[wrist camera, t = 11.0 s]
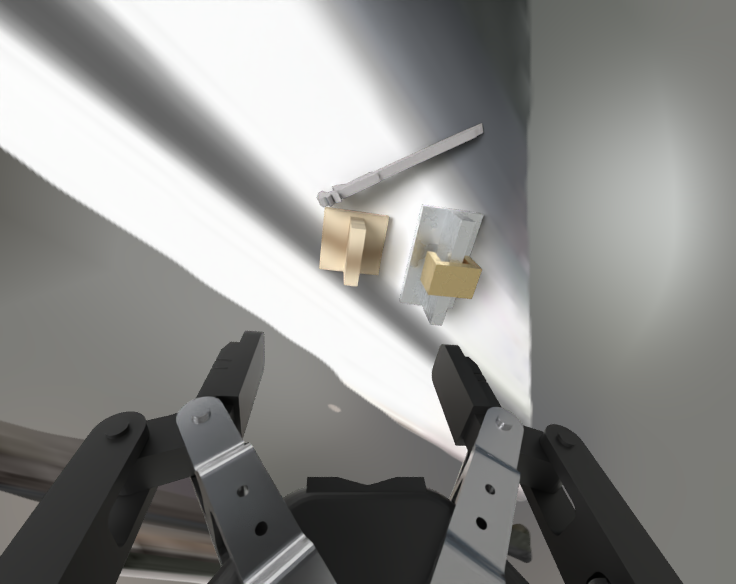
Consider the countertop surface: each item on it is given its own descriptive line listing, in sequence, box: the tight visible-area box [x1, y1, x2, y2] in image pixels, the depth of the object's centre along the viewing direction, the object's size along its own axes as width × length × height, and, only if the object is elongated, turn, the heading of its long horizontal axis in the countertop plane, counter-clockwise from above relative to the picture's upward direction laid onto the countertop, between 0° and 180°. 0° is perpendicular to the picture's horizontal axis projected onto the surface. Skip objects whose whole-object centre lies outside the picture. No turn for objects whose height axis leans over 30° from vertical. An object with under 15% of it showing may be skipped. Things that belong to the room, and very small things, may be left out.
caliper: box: [317, 123, 483, 207], centre depth 33 cm, size 20×1×6 cm, turn 111°
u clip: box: [420, 251, 482, 299], centre depth 38 cm, size 4×6×4 cm
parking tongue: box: [319, 207, 389, 286], centre depth 37 cm, size 8×8×6 cm
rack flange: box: [399, 204, 483, 326], centre depth 39 cm, size 14×8×6 cm, turn 171°
